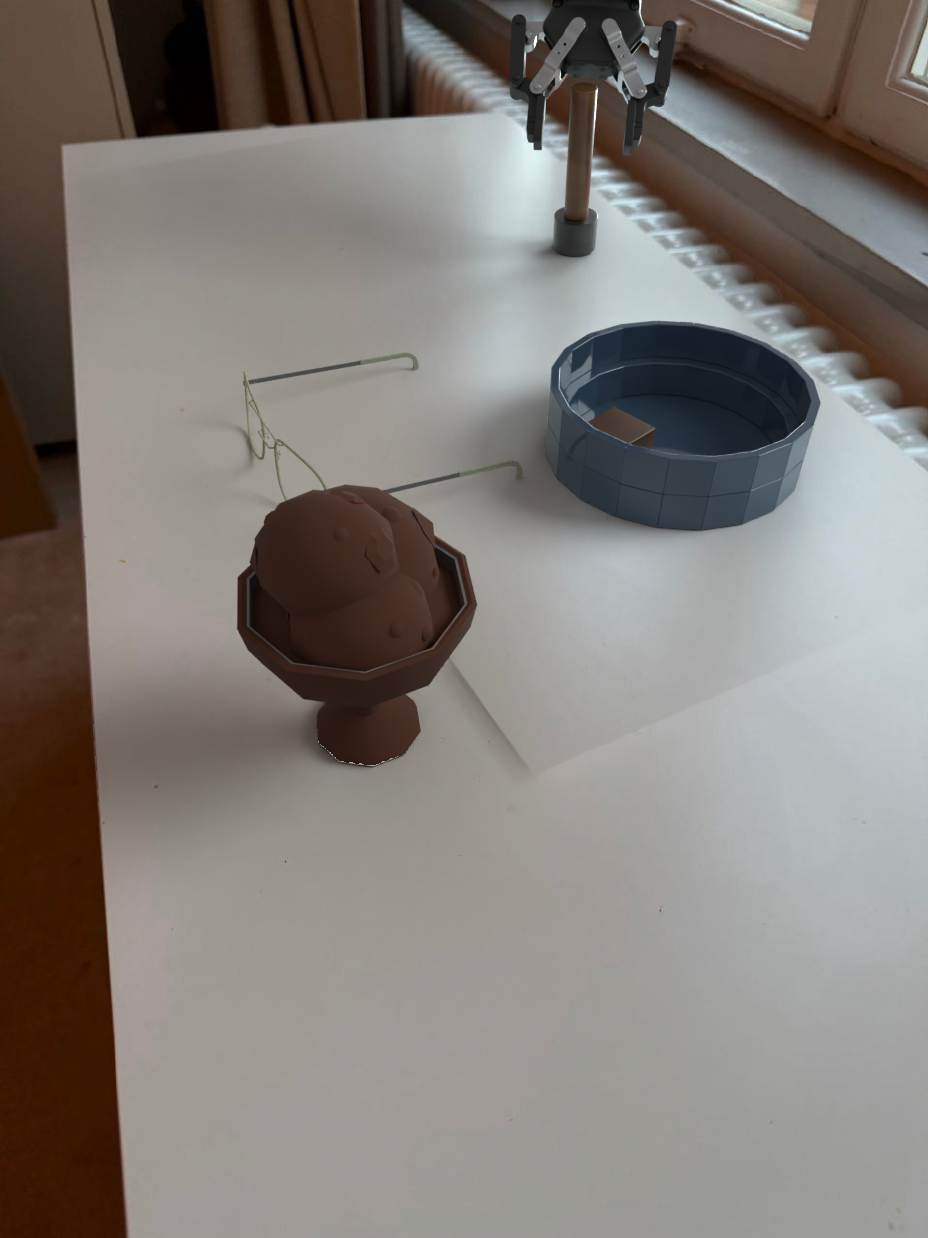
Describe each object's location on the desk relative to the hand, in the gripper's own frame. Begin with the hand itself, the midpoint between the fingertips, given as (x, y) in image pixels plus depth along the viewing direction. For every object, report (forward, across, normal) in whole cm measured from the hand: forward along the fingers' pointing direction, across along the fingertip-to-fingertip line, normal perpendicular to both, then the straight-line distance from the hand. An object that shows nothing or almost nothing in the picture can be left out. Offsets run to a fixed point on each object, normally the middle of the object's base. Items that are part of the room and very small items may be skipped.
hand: (582, 147), depth 84 cm
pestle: (+4, 0, +10) cm, 11 cm away
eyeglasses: (+30, -12, -15) cm, 36 cm away
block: (+30, +4, -16) cm, 34 cm away
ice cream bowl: (+47, -8, -32) cm, 57 cm away
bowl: (+28, +8, -14) cm, 32 cm away
